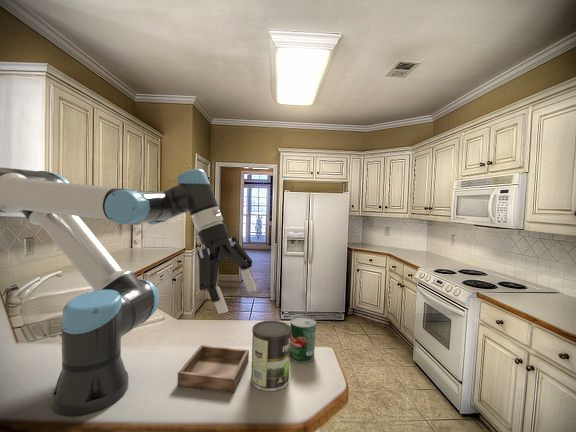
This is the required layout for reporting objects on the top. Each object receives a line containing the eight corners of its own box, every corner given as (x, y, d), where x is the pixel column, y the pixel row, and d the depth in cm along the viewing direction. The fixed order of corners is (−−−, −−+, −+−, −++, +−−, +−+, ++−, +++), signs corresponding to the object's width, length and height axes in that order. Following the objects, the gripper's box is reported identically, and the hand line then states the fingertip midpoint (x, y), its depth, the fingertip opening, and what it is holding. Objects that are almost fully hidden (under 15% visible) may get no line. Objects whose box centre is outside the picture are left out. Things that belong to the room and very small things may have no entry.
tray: (177, 386, 76) (177, 372, 75) (201, 356, 90) (201, 345, 90) (233, 393, 74) (234, 379, 74) (248, 361, 88) (248, 350, 88)
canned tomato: (285, 359, 90) (286, 324, 90) (292, 347, 98) (294, 314, 97) (310, 365, 88) (312, 328, 87) (316, 352, 95) (318, 318, 95)
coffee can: (292, 371, 84) (294, 322, 84) (284, 394, 74) (287, 339, 73) (257, 366, 86) (259, 318, 86) (244, 387, 76) (246, 333, 75)
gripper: (186, 232, 67) (220, 321, 67) (247, 214, 89) (272, 280, 89) (164, 241, 70) (197, 326, 71) (228, 221, 93) (252, 286, 93)
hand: (239, 301), depth 80 cm, fingers open, 13 cm apart
